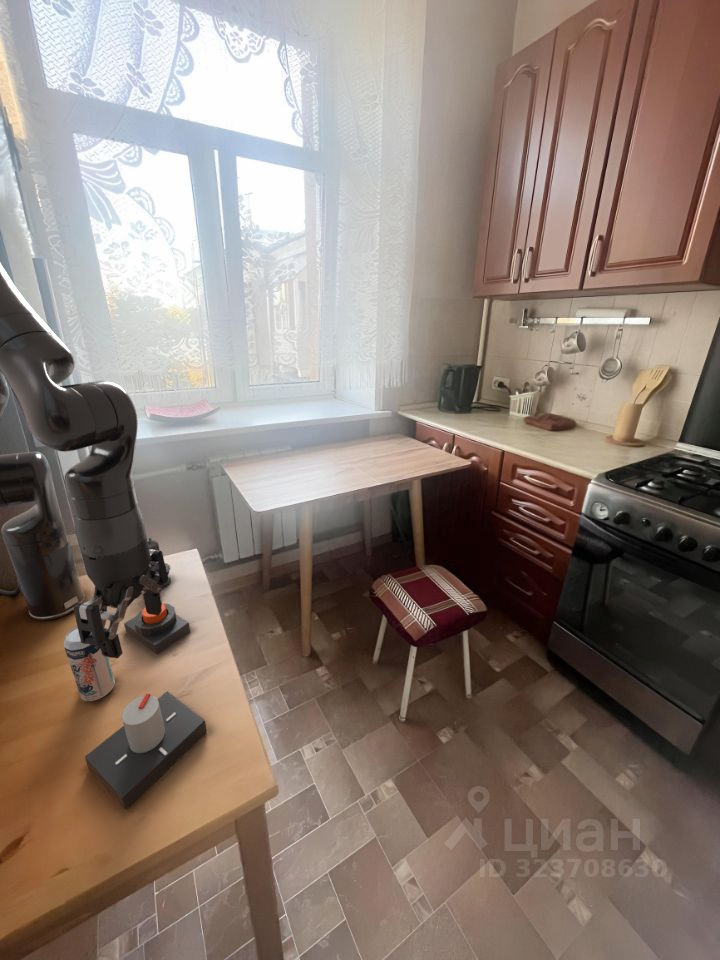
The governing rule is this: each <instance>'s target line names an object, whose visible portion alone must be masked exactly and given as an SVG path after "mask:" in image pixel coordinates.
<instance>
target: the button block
mask: <svg viewBox="0 0 720 960" xmlns="http://www.w3.org/2000/svg"><path fill="white" fill-rule="evenodd" d="M163 604H164V605H165V606H166V612H167V616H166V617H165V619H163V620H162V621H160V622H158V623H155V624H147V623H145V622H144V620H143V616H142V611H143V609H142V610H140V611H139V612H138V613H137V614H136V616H133V618H130V619H129V620H128V621H126V622H124V623H123V625H124V628H125V633H126V634H128V635H129V636H130V637H132V638H133V639H134V640H136V641H137V642H139V643H141V645H144V647H145V648H147V649H148V650H150V651H151V652H153V653H154V654H155V655H159V654H161V652H163V651H164V650H166V649H167V648H169V647H170V646H172V645H174V644H175V643H176V642H177V641H179V640H180V639H182V638H183V637H184V636H186V635H187V634H189V633H190V632H191V627H190V622H189V621H187V620H186V619H184V618H182V617H181V616H179V615H178V614H176V609H175V607H174V606H173V605H171V604H170V603H163Z"/></svg>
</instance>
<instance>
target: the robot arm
mask: <svg viewBox="0 0 720 960" xmlns="http://www.w3.org/2000/svg"><path fill="white" fill-rule="evenodd" d="M75 364H76V361H75V358H74V356H73V354H72V352H71V351H70V349H69V347H67V345H66V344H65V343H64V341H62V340H61V338H60V337H59V336H58V335H57V334H56V333H55V332H54V330H52V329H51V327H50V326H49V325H48V324H47V322H45V320H43V318H42V317H41V316H40V315H39V313H38V312H36V310H34V308H33V307H32V306H31V304H30V303H29V302H28V301H27V299H26V298H25V297H24V295H23V294H22V293H21V292H20V290H19V289H18V287H17V285H15V283H14V282H13V280H12V278H11V277H10V275H9V274H8V272H7V270H6V269H5V267H4V266H3V264H2V262H0V418H1V417H2V415H3V414H4V411H5V410H6V408H7V405H8V402H9V398H10V389H11V391H12V393H13V395H14V397H15V400H16V401H17V404H18V405H19V408H20V410H21V413H22V415H23V418H24V421H25V423H26V426H27V428H28V430H29V431H30V433H31V435H32V436H33V437H34V438H35V439H36V440H37V441H38V442H40V443H41V444H42V445H44V446H46V447H48V448H49V449H52V450H54V451H57V452H66V453H67V452H74V451H79V450H82V449H85V448H88V447H91V449H90V453H89V454H88V455H87V456H86V457H85V458H84V459H82V460H81V461H79V462H77V463H76V464H74V465H73V466H71V467H70V468H69V469H68V470H67V471H66V472H65V475H64V485H65V488H66V493H67V497H68V500H69V504H70V507H71V508H70V509H71V512H72V515H73V521H74V530H75V536H76V540H77V542H78V547H79V550H80V554H81V558H82V561H83V565H84V569H85V572H86V576H87V577H88V579H89V580H90V582H92V584H93V586H94V592H93V596H92V597H91V598H90V599H88V600H87V601H86V602H85V599H86V595H85V592H84V590H83V586H82V582H81V578H80V575H79V572H78V571H79V570H78V569H77V565H76V561H75V558H74V554H73V551H72V547H71V545H70V544H71V543H70V541H69V537H68V534H67V530H66V526H65V523H64V519H63V517H62V512H61V510H60V506H59V505H60V504H59V501H58V498H57V494H56V489H55V484H54V480H53V479H54V478H53V474H52V469H51V466H50V463H49V461H48V459H47V457H46V456H45V455H44V454H43V453H42V452H40V451H25V452H24V451H23V452H16V453H7V454H0V508H4V507H11V506H16V505H17V506H18V505H22V504H23V505H24V504H28V503H35V505H33V506H32V507H31V508H29V509H28V510H26V511H24V512H22V513H20V514H17V515H16V516H14V517H12V518H10V519H9V520H7V521H6V522H5V523H3V525H2V527H1V530H0V531H1V536H2V539H3V542H4V544H5V547H6V551H7V553H8V555H9V558H10V561H11V563H12V566H13V570H14V572H15V576H16V578H17V579H16V583H17V587H16V589H15V590H12V591H9V590H6V589H1V588H0V595H4V596H16V595H19V594H20V593H21V594H22V595H23V597H24V600H25V603H26V606H27V609H28V613H29V616H30V618H31V619H33V620H36V621H50V620H54V619H55V620H56V619H59V618H61V617H64V616H67V615H69V614H71V613H72V612H73V613H74V617H75V622H76V627H78V631H79V636H80V640H81V643H84V644H91V645H95V646H100V648H101V651H102V655H103V656H105V657H108V658H111V659H119V658H120V657H121V656H122V655H123V649H122V645H121V640H120V636H119V634H118V629H119V625H120V622H122V621H123V620H124V619H125V616H126V612H127V610H128V607H129V606H131V605H132V603H133V602H134V601H135V600H136V599H138V598H140V596H141V595H142V597H143V602H144V608H145V607H146V612H147V613H148V614H152V615H159V614H160V613H161V612H162V608H161V607H162V603H163V602H162V597H161V592H162V590H163V589H162V588H161V585H162V584H163V583H166V582H167V580H168V577H169V575H167V571H166V566H165V563H166V562H165V559H164V554H163V550H160V549H159V550H160V551H159V550H152V549H149V546H148V541H149V540H148V536H147V531H146V525H145V521H144V517H143V514H142V513H143V512H142V510H141V508H140V505H139V502H138V497H137V491H136V486H135V482H134V477H133V470H134V463H135V453H136V444H137V438H138V437H137V436H138V414H137V410H136V406H135V404H134V401H133V400H132V398H131V396H130V395H129V394H128V393H127V391H126V390H125V389H124V388H123V387H122V386H121V385H119V384H117V383H115V382H113V381H109V380H108V381H107V380H96V381H88V382H82V383H74V384H66V385H60V384H62V383H64V381H66V380H67V379H69V377H70V376H71V375H72V374H73V373H74V370H75V366H76V365H75ZM9 387H10V388H9ZM156 571H157V572H158V573H159V574H156ZM147 573H148V577H149V578H148V577H147ZM142 592H144V593H142ZM108 607H109V608H113V609H116V611H115V612H109V611H108ZM107 621H109V625H108V628H107V627H106V624H107ZM91 632H92V633H91Z"/></svg>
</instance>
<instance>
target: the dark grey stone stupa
mask: <svg viewBox="0 0 720 960" xmlns="http://www.w3.org/2000/svg"><path fill="white" fill-rule="evenodd" d="M147 541H148V546H149V549H152V550H159V551H161V550H160V545H159V542H158V541H157V540H155V539H152V537H148V538H147ZM165 566H166V571H167V575H168V580H167V582H166V583H163V584H162V585H161V588H162V589H161V590H163V589H165V588H168V586H169V585H171V582H172V578H171V577H169V574H170V570H171V565H170V564H169V563H166V562H165ZM156 574H159V573H158V572H157V571H156ZM147 577H148V573H147ZM148 578H149V577H148Z"/></svg>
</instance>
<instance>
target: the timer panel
mask: <svg viewBox="0 0 720 960" xmlns="http://www.w3.org/2000/svg"><path fill="white" fill-rule="evenodd" d="M157 699H158V701H159V705H160V710H161V714H162V719H163V723H164V728H165V734H164V737H163V739H162V740H161V742H160V743H159V744H158V745H157V746H156V747H155V748H153V749H152V750H150V751H147V752H144V753H136V752H133V751H132V750H131V749H130V746H129V742H128V739H127V735H126V732H125V728H124V725H123V726H121V727H120V728H118V730H116V731H115V732H114V733H112V734H111V735H110V736H109V737H107V738H106V739H105V740H103V742H101V743H100V744H98V745H97V746H96V747H94V748H93V750H91V751H90V752H88V753H87V754H86V755H85V756H84V760H85V762H86V765H87V767H88V770H89V771H90V772H91V773H92V774H93V776H94V777H96V779H97V780H98V781H99V783H100V784H102V785H103V786H104V788H105V789H106V790H107V792H109V793H110V794H111V796H113V798H114V799H115V800H116V801H117V802H118V803H119V804H120V806H122V808H123V809H124V810H126V811H127V810H128V809H129V808H130V807H131V806H132V805H133V804H134V803H135V802H136V801H137V800H139V798H141V797H142V796H143V794H145V793H146V792H147V791H148V790H149V789H150V788H151V787H152V786H153V785H154V784H155V783H156V782H157V781H158V780H159V779H160V778H161V777H162V776H163V775H164V774H165V773H166V772H167V771H168V770H169V769H170V768H171V767H172V766H174V764H176V762H178V761H179V760H180V759H181V757H183V756H184V755H185V754H186V753H187V752H188V751H189V750H190V749H191V748H192V747H193V746H194V745H195V744H196V743H197V742H199V741H200V739H202V737H204V736H205V735H206V734H207V732H208V731H207V730H208V729H207V724H206V720H205V719H203V717H201V716H200V715H198V714H197V713H196V712H195V711H194V710H192V709H191V708H190V707H189V706H188V705H186V704H185V703H184V702H182V701H181V700H179V698H177V697H176V696H175V695H173V694H172V693H171V692H169V691H165V693H163V694H162V695H160V696H159V697H158V698H157Z"/></svg>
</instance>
